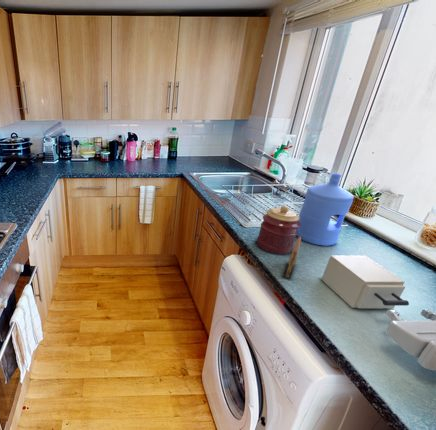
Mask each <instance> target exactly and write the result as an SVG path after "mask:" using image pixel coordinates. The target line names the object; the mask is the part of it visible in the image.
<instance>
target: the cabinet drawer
mask: <svg viewBox="0 0 436 430" xmlns="http://www.w3.org/2000/svg"><path fill="white" fill-rule="evenodd" d="M405 288H406V286H404V284H403V285H402V284H366V286H365V288H364V290H363V292H362V294H361V296H360V298H359V300H358V302H357V304H356V306H357V307H358V308H357V309H394V308H395V307H396V306H399V307H401V306H402V307H403V306H406V307H407V306H409V305H410V302H409V301H408V300H407V299H403V298H401V296H402V294H403V292H404V291H405Z"/></svg>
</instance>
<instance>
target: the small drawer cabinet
mask: <svg viewBox="0 0 436 430" xmlns="http://www.w3.org/2000/svg"><path fill="white" fill-rule="evenodd" d="M321 281H322V282H324V283H325V284H326V285H327V286H328V287H329V288H330V289H331V290H332V291H333V292H335V294H337V295H338V296H339V297H340V298H341V299H342V300H343V301H344V302H345V303H347V304H348V305H349V306H350V307H351V308H352V309H359V308H358V307H357V306H356V304H357V302H358V300H359V298H360V296H361V294H362V292H363V290H364V288H365V286H366V284H402V285H403V286H404V284H405V281H404V280H403V279H402V278H400V277H399V276H397V275H395V274H394V273H392V272H391V271H390V270H388V269H387V268H385V267H384V266H382V265H381V264H379V263H377V262H376V261H375V260H373V259H372V258H370V257H369V256H367V255H356V254H355V255H354V254H353V255H349V254H348V255H347V254H346V255H341V254H340V255H339V254H338V255H337V254H335V255H333V254H331V255H330V256H329V258H328V261H327V264H326V266H325V269H324V271H323V274H322V277H321Z"/></svg>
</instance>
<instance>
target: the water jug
mask: <svg viewBox="0 0 436 430" xmlns="http://www.w3.org/2000/svg"><path fill="white" fill-rule="evenodd" d="M341 178H342V174H338V173H331V176H330V178H329V181H328V183H324V184H317V185H312V186H309V187H308V188H307V190H306V192H305V195H304V199H303V204H302V207H301V209H300V211H299V214H298V216H299V217H300V219H299V220H298V221H299V222H300V226H299V227H298V228H297V230H298V234H297V235H296V237H297V238H299V237H300V236H301V241H302V240H303V241H305V242H307V243H310V244H313V245H317V246H324V247H327V246H328V247H329V246H333V245H335V244H337V242H338V241H339V236H340V234H341V231H342V229H343V227H342V225H343V223H344V220H345V217H346V215H347V214H348V213H349V211H350V209H351V207H352V205H353V201H354V199H355V198H354V195H353V193H351V192H349V190H346V189H344V188H342V187H341V186H340V185H339V183H340V181H341ZM335 215H336V216H338V218H337V221H335V220H333V219H332V217H333V216H335Z"/></svg>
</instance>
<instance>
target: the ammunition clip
mask: <svg viewBox="0 0 436 430" xmlns="http://www.w3.org/2000/svg"><path fill="white" fill-rule="evenodd" d="M301 242H302V239H301V236H300V237H297V239H296V242H295V243H294V245H293V249H292V251H291V252H290V253H291V254H290V256H289V260H288V262H287V265H286V269H285V271H284V274H283V278H285V279H288V280H290V279H291V278H292V274H293V271H294V268H295V265H296V261H297V258H298V256H299V250H300V248H301V247H300V246H301Z"/></svg>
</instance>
